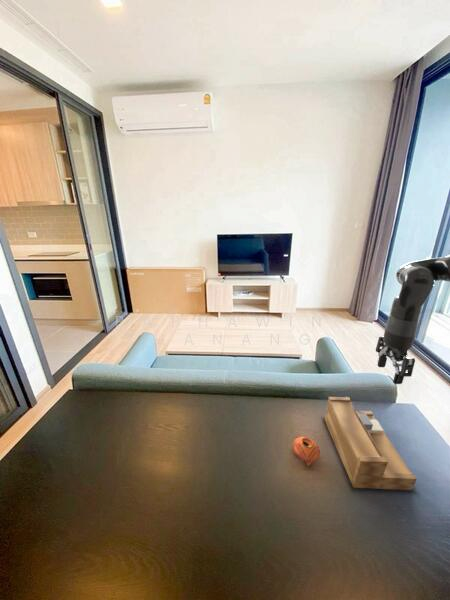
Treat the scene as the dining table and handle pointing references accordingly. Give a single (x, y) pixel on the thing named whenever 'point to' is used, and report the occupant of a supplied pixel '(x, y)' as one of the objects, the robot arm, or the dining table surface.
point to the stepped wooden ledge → (365, 449)
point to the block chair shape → (371, 424)
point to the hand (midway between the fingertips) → (388, 374)
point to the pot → (306, 449)
